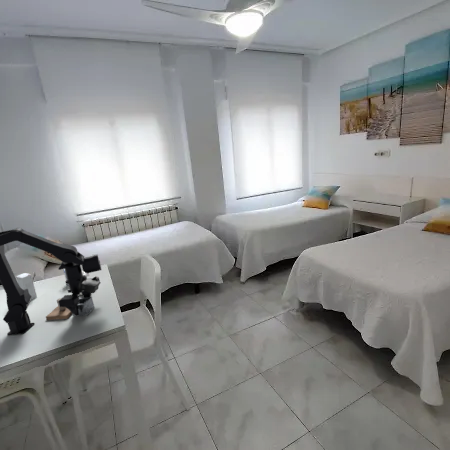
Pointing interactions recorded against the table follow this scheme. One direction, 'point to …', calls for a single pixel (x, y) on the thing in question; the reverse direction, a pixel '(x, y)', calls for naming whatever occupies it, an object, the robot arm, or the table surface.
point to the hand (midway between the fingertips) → (83, 309)
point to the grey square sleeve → (85, 306)
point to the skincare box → (27, 284)
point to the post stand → (59, 313)
